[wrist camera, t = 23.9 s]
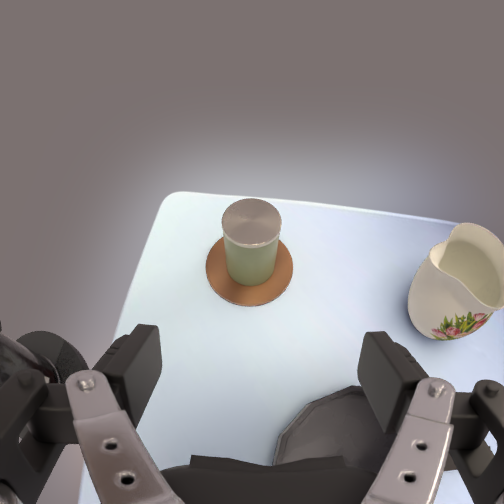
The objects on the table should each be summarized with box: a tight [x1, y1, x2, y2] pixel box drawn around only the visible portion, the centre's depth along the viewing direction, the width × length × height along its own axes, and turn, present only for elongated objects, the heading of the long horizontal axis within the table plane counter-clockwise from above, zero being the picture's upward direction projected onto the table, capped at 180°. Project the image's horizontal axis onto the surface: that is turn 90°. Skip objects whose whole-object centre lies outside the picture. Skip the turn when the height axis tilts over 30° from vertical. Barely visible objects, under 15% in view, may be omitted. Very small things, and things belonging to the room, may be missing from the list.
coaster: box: [206, 237, 293, 306], centre depth 40 cm, size 11×11×1 cm
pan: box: [272, 386, 490, 474], centre depth 25 cm, size 27×17×3 cm, turn 78°
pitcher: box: [408, 223, 504, 340], centre depth 31 cm, size 11×18×14 cm, turn 88°
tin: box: [222, 198, 281, 286], centre depth 36 cm, size 6×6×9 cm
